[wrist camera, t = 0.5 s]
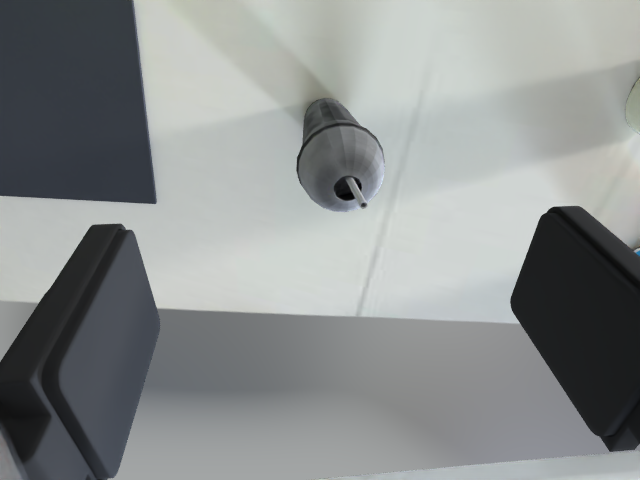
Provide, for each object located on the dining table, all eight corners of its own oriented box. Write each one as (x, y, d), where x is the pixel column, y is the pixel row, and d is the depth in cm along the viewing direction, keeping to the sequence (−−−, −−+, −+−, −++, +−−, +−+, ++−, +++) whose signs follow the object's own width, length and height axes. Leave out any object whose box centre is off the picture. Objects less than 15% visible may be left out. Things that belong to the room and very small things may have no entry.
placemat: (-75, -25, 34) (-78, -25, 34) (133, 0, 36) (132, 0, 36) (1, 194, 45) (-1, 195, 45) (156, 202, 47) (155, 204, 47)
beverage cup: (284, 145, 45) (292, 257, 28) (299, 76, 41) (317, 159, 25) (349, 158, 46) (391, 271, 30) (369, 92, 42) (430, 181, 26)
